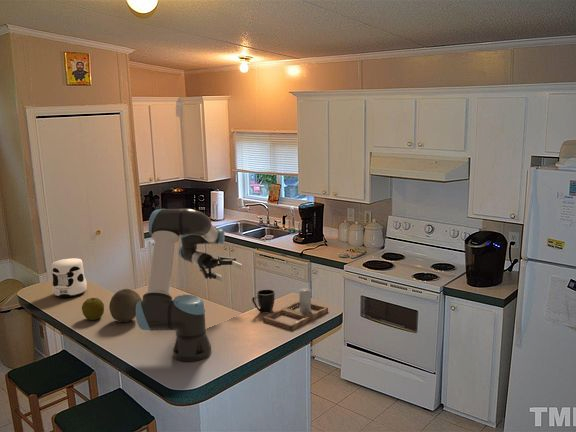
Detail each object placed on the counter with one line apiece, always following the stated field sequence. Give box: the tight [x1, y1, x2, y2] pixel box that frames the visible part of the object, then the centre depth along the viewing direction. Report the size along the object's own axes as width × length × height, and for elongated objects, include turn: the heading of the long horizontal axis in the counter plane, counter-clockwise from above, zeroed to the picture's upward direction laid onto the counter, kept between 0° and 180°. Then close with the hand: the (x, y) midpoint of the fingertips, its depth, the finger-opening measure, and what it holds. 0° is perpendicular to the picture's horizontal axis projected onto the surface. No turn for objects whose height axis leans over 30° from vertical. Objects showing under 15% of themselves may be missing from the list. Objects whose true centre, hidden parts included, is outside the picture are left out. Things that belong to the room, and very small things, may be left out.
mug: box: [251, 288, 276, 313], centre depth 252 cm, size 8×12×10 cm
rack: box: [262, 300, 329, 331], centre depth 246 cm, size 27×17×2 cm, turn 140°
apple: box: [81, 297, 105, 321], centre depth 249 cm, size 10×10×11 cm
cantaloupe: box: [108, 288, 142, 323], centre depth 245 cm, size 14×14×15 cm
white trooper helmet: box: [51, 257, 88, 298], centre depth 284 cm, size 17×17×18 cm
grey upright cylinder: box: [298, 287, 312, 314], centre depth 250 cm, size 6×6×11 cm
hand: (232, 272), depth 254 cm, fingers open, 13 cm apart
